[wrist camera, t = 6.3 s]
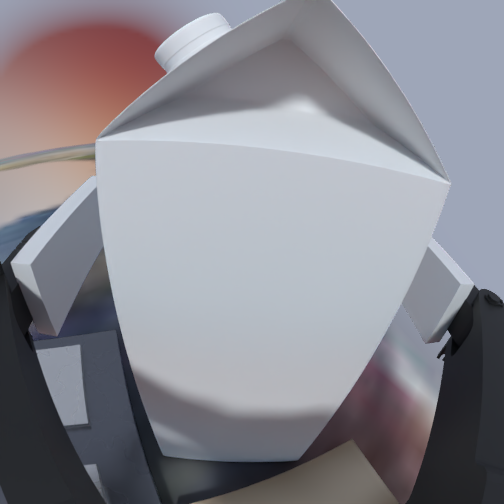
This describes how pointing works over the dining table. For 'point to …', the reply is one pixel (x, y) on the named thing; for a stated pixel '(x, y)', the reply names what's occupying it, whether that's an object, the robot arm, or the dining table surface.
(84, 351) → the label panel
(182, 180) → the milk carton
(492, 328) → the robot arm
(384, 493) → the coaster
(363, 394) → the dining table surface
